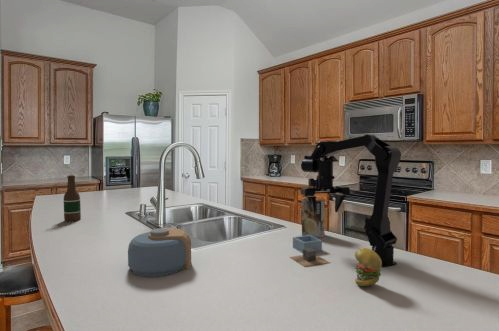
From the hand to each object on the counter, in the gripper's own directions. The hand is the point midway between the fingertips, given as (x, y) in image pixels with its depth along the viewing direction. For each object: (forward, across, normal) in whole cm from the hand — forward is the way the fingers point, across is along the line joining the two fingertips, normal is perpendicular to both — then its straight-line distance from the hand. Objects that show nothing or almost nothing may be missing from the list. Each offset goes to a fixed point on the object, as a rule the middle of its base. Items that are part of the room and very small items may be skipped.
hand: (325, 212), depth 126 cm
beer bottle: (+12, +114, -66) cm, 133 cm away
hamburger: (+14, +4, +36) cm, 39 cm away
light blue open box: (+13, +8, +2) cm, 16 cm away
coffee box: (+14, -1, -16) cm, 21 cm away
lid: (+14, +12, +14) cm, 23 cm away
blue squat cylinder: (+13, +63, +9) cm, 65 cm away
